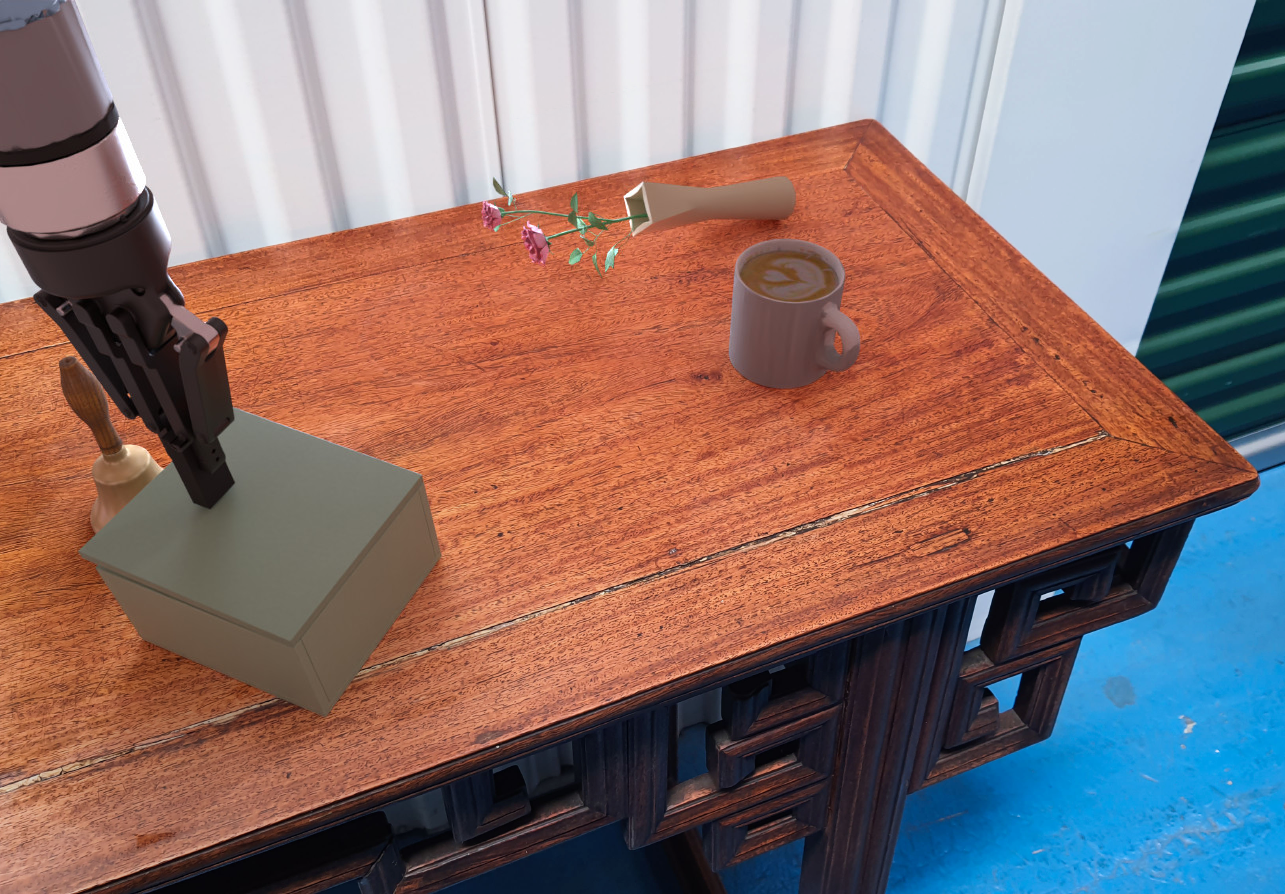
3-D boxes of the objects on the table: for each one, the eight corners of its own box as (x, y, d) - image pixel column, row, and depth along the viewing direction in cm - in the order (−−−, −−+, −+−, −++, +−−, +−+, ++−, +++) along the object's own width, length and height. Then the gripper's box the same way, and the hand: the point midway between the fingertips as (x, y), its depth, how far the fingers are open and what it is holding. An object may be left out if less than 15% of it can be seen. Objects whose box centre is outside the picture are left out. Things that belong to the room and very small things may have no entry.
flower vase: (774, 289, 116) (497, 326, 99) (728, 212, 121) (457, 236, 104) (821, 217, 107) (524, 245, 90) (769, 137, 112) (479, 150, 95)
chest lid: (81, 558, 68) (77, 551, 67) (232, 412, 78) (229, 405, 77) (293, 648, 63) (290, 641, 63) (424, 481, 73) (422, 474, 73)
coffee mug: (708, 342, 98) (713, 258, 91) (790, 311, 101) (801, 227, 94) (789, 424, 90) (801, 339, 83) (875, 387, 93) (894, 301, 86)
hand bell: (144, 459, 87) (68, 315, 76) (216, 489, 85) (148, 345, 73) (69, 524, 82) (-26, 380, 71) (143, 559, 79) (58, 415, 68)
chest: (141, 639, 74) (94, 567, 68) (273, 495, 84) (243, 421, 78) (325, 718, 70) (293, 648, 63) (442, 556, 80) (424, 482, 73)
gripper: (219, 193, 54) (322, 483, 71) (41, 147, 58) (179, 433, 75) (119, 268, 50) (254, 560, 66) (-69, 212, 53) (105, 502, 70)
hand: (214, 492), depth 71 cm, fingers closed
